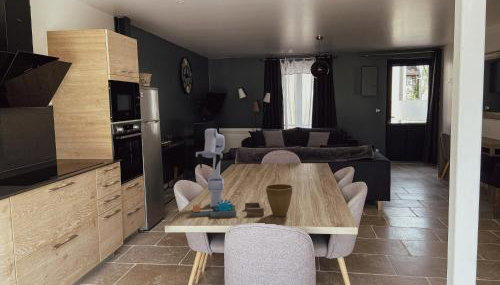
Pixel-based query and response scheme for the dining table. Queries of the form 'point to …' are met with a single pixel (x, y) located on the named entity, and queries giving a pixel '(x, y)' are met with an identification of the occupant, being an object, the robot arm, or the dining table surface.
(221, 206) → the gear
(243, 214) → the dining table surface
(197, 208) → the orange block
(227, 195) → the dining table surface
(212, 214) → the socket
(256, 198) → the dining table surface
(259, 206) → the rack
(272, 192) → the plant pot
